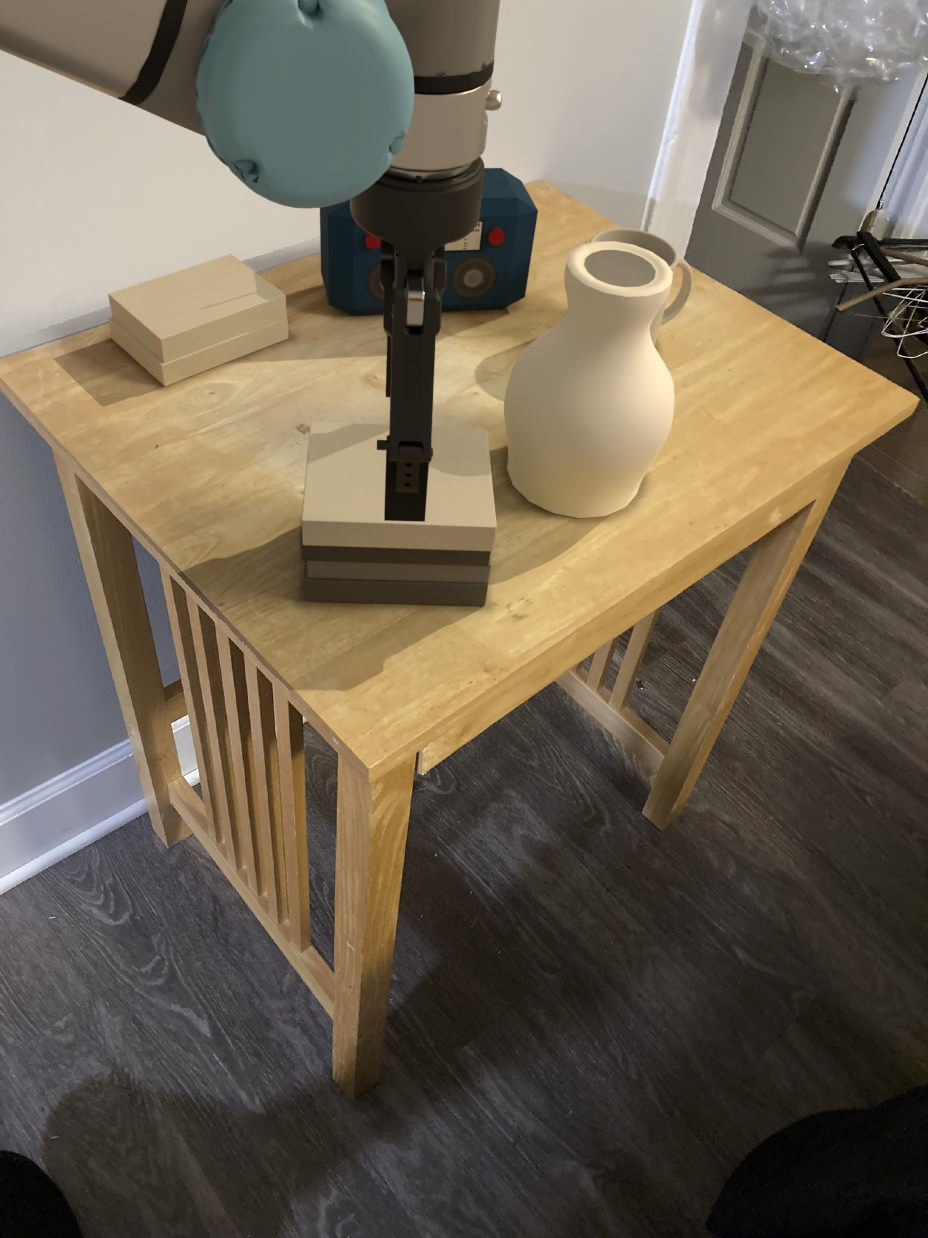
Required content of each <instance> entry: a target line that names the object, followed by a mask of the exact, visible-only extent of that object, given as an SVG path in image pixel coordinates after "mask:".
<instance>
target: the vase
mask: <svg viewBox="0 0 928 1238" xmlns="http://www.w3.org/2000/svg"><path fill="white" fill-rule="evenodd" d="M672 276H673V272H672V270H671V269H670V267H669V266H668V264H667V263H666V261H664V260H663V259H661V258H660V257H658V256H657V255H656V254H654V253H653V252H651V251H648V250H646V249H643V248H641V247H638V246H635V245H632V244H626V243H621V242H615V241H603V242H591V243H589V242H588V243H584V244H580V245H578V246H577V247H576V248H574V249H572V250H571V251H570V252H569V253H568V255H567V259H566V263H565V268H564V275H563V277H564V278H563V281H564V282H563V283H564V288H565V294H566V300H567V301H566V302H567V308H566V309H567V310H566V312H565V313H564V315H563V317H562V318H561V319H560V320H559V322H558V323H557V324H555V325H553V326H552V327H550V328H549V329H547V330H546V331H545V332H543V333H542V334H540V335H539V336H537V338H535V339H534V340H533V341H532V342H531V343H529V344H528V345H527V346H526V347H525V348H524V349H523V351H521V352H520V353H519V355H518V356H517V358H516V359H515V361H514V362H513V365H512V369H511V371H510V374H509V378H508V381H507V382H508V383H507V386H506V390H505V393H504V394H505V395H504V400H503V415H504V416H503V417H504V427H505V433H506V442H507V463H506V471H507V473H508V476H509V479H510V481H511V484H512V486H513V487H514V488H515V489H516V490H517V491H518V492H519V493H520V494H521V496H523V497H524V498H525V499H526V500H527V501H528V502H529V503H531V504H533V505H535V506H537V507H539V508H542V509H543V510H545V511H547V512H549V513H551V514H555V515H559V516H566V517H572V518H577V519H587V518H599V517H601V518H602V517H606V516H609V515H611V514H614V513H617V512H618V511H620V510H623V509H625V508H627V506H628V505H629V504H630V502H631V501H632V500H633V499H634V498H635V497H636V496H637V494H638V493H639V489H640V485H641V483H642V482H643V479H644V477H645V475H646V473H647V472H648V470H649V469H650V467H651V465H652V464H653V462H654V461H655V460H656V458H657V456H658V455H659V453H660V452H661V450H662V448H663V447H664V445H665V443H666V441H667V439H668V437H669V435H670V432H671V429H672V426H673V420H674V413H675V398H676V397H675V395H676V393H675V384H674V380H673V377H672V374H671V372H670V371H669V369H668V367H667V365H666V364H665V362H664V360H663V358H662V357H661V355H660V353H659V352H658V350H657V348H656V347H655V346H654V345H653V343H652V339H651V336H650V325H651V323H652V320H653V319H654V317H655V315H656V314H657V312H658V311H659V309H660V308H661V307H662V305H663V304H664V302H665V301H666V299H667V297H668V298H669V295H670V293H671V289H672V285H673V281H672ZM667 300H668V299H667Z"/></svg>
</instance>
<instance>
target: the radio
mask: <svg viewBox="0 0 928 1238" xmlns="http://www.w3.org/2000/svg"><path fill="white" fill-rule="evenodd" d="M538 214H539V209H538V208H537V205H536V204H535V203H534V200H533V199H532V197H531V194H530V193H529V192H528V190H527V187H526V186H525V184H524V183H523V181H522V180H521V179H519V178H518V177H516V176H515V175H513V174H512V173H510V172H509V171H507V170H505V169H504V168H502V167H484V178H483V188H482V199H481V209H480V218H479V221H478V223H477V225H476V227H475V228H474V230H473V231H472V232H471V233H470V234H468V235H467V236H466V237H464V238H462V239H461V240H458V241H456V242H453V243H448V244H445V258H444V261H447V279H446V286H445V289H444V291H443V292H442V306H441V313H451V312H452V313H453V312H477V311H479V312H480V311H501V310H504V309H507V308H508V307H510V306H512V305H513V304H515V303H517V302H519V301H521V300H523V299H525V298H526V293H527V287H528V280H529V273H530V266H531V260H532V254H533V247H534V242H535V241H534V240H535V234H536V229H537V222H538ZM319 237H320V238H319V239H320V240H319V243H320V244H319V245H320V246H319V247H320V274H321V278H322V282H323V286H324V290H325V294H326V298H327V302H328V305H329V306H331V307H333V308H335V309H337V310H339V311H340V312H343V313H346V315H349V316H352V317H355V316H377V315H379V316H380V315H381V316H383V315H384V291H383V289H382V288H381V286H380V249H381V239H378V238H376V237H374V236H372V235H370V234H369V233H367V232H366V231H364V230H363V229H362V228H361V227H360V226H359V225H358V224H357V223H356V222H355V220H354V218H353V217H352V214H351V210H350V199H349V200H347V201H345V202H341V203H338V204H335V205H331V206H327V207H322V208H319ZM392 315H393V312H392Z"/></svg>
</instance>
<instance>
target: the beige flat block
mask: <svg viewBox="0 0 928 1238" xmlns="http://www.w3.org/2000/svg"><path fill="white" fill-rule="evenodd" d="M389 427H390V424H376V423H375V424H374V423H357V422H356V423H355V422H334V421H333V422H330V421H310V427H309V435H308V446H307V447H308V448H307V456H308V457H306V467H307V468H306V470H305V477H306V479H305V478H304V479H305V480H304V488H305V490H304V489H303V499H304V501H303V500H302V510H303V512H302V511H301V521H302V539H303V545H315V546H346V547H376V548H407V549H437V550H468V551H491V552H493V551H494V547H495V541H496V533H497V529H498V526H497V517H496V505H495V496H494V487H493V485H494V484H493V476H492V466H491V465H492V464H491V457H490V447H489V437H488V435H489V434H488V429H486V428H485V429H484V428H463V427H443V426H441V427H440V426H432V442H431V446H432V448H433V457H432V460H431V461H430V463H429V470H428V484H427V498H426V512H425V522H417V521H384V510H385V475H386V450H377V440H387V436H388V435H389Z"/></svg>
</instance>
